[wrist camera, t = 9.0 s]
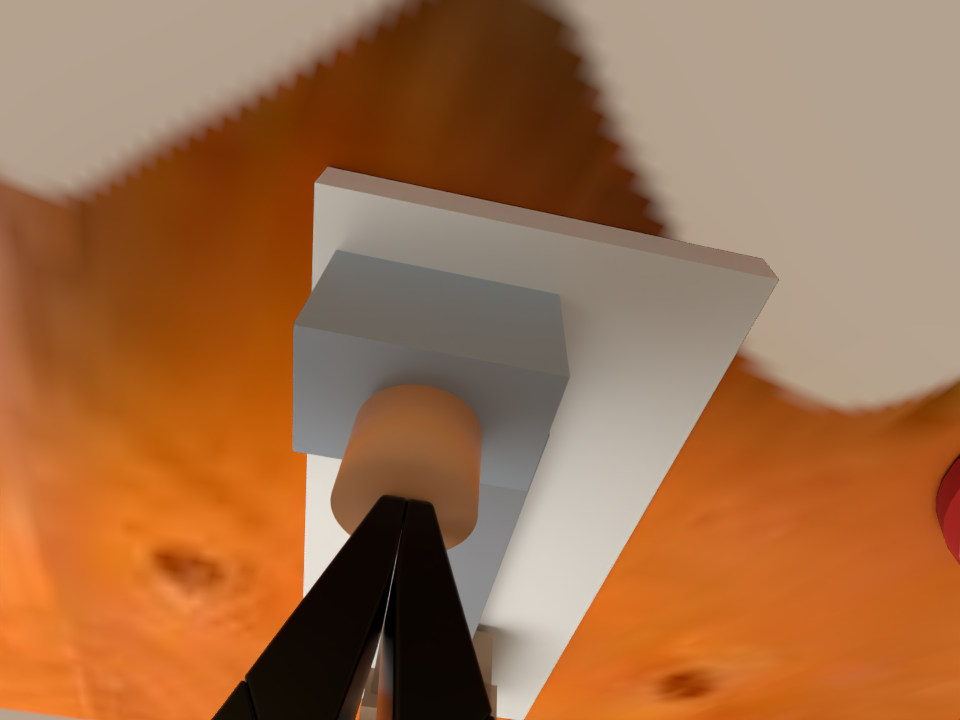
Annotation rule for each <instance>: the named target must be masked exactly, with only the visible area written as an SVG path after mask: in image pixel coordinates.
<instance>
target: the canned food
mask: <svg viewBox="0 0 960 720" xmlns="http://www.w3.org/2000/svg"><path fill="white" fill-rule="evenodd" d="M936 513H937V516H938V519H939V522H940V526H941V529H942V532H943V535H944V538H945V541H946V544H947V547H948V549H949V550H950V552H951V553H952V555H953V556H954V557H955V559H956V560H957V562H958V563H959V564H960V458H959V459H958V460H957V461H956V462H955V463H954V464H953V466H952V467H951V469H950V470H949V472H948V473H947V475H946V476H945V478H944V479H943V481H942V483H941V486H940V489H939V491H938V494H937V499H936Z"/></svg>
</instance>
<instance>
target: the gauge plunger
mask: <svg viewBox="0 0 960 720" xmlns="http://www.w3.org/2000/svg"><path fill="white" fill-rule="evenodd" d="M482 438H483V433H482V427H481V424H480V422H479V420H478V418H477V416H476V414H475V413H474V412H473V410H472V409H471V408H470V407H469V406H468V405H467V404H466V403H465V402H463V401H462V400H461V399H460V398H458V397H456V396H455V395H453V394H451V393H449V392H447V391H444V390H441V389H439V388H435V387H431V386H426V385H416V384H408V385H398V386H393V387H390V388H387V389H384V390H382V391H379V392H377V393H376V394H374V395H373V396H371V397H370V398H369V399H368V400H366V401H365V403H364V404H363V405H362V406H361V408H360V409H359V411H358V414H357V416H356V419H355V422H354V425H353V428H352V431H351V435H350V438H349V441H348V444H347V447H346V450H345V453H344V456H343V459H342V462H341V465H340V468H339V471H338V474H337V477H336V480H335V483H334V486H333V490H332V493H331V498H330V503H331V509H332V513H333V515H334V517H335V519H336V521H337V522H338V524H339V525H340V526H341V527H342V528H343V530H345V531H346V532H347V533H348V534H349V535H350V536H351V535H352V533H353V532H354V531H355V529H356V528H357V527H358V525H359V524H360V523H361V521H362V520H363V519H364V517H365V516H366V515H367V513H368V512H369V511H370V509H371V508H372V507H373V506H374V504H375V503H376V502H377V500H378V499H379V498H380V497H381V496H382V495H392V496H398V497H403V498H405V499H406V501H408V500H410V499H416V500H422V501H428V502H431V503H432V504H433V506H434V508H435V512H436V515H437V519H438V522H439V526H440V529H441V533H442V536H443V540H444V543H445V547H446V550H449V549H451V548H453V547H455V546H457V545H459V544H460V543H462V542H463V541H464V540H466V539H467V538H468V536H469V535H470V534H471V533H472V531H473V530H474V528H475V526H476V523H477V519H478V505H479V489H480V472H481V456H482ZM406 505H407V503H406ZM405 510H406V508H405ZM404 515H405V514H404ZM403 521H404V519H403ZM402 526H403V524H402ZM401 531H402V530H401ZM400 536H401V535H400ZM399 542H400V540H399ZM398 547H399V546H398ZM397 552H398V551H397Z"/></svg>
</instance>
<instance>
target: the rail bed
mask: <svg viewBox="0 0 960 720" xmlns="http://www.w3.org/2000/svg"><path fill="white" fill-rule="evenodd" d="M778 281H779V279H778V278H777V276H776V275H775V274H774V272H773V271H772V270H771V269H770V267H769V266H768V265H767V264H766V262H765V261H764V260H763V259H761V258H756V257H752V256H747V255H742V254H738V253H733V252H728V251H724V250H719V249H714V248H709V247H704V246H700V245H695V244H690V243H686V242H681V241H676V240H672V239H667V238H662V237H657V236H653V235H648V234H643V233H639V232H634V231H629V230H624V229H620V228H615V227H610V226H605V225H601V224H596V223H591V222H587V221H582V220H577V219H572V218H568V217H563V216H558V215H554V214H549V213H544V212H539V211H535V210H530V209H525V208H520V207H516V206H511V205H506V204H502V203H497V202H492V201H487V200H483V199H478V198H473V197H469V196H464V195H459V194H454V193H450V192H445V191H440V190H435V189H431V188H426V187H421V186H417V185H412V184H407V183H402V182H398V181H393V180H388V179H383V178H379V177H374V176H369V175H365V174H360V173H355V172H350V171H346V170H341V169H336V168H332V167H327V168H326V169H325V170H324V172H323V173H322V174H321V175H320V177H319V178H318V179H317V180H316V181H315V187H314V224H313V261H312V293H311V295H310V296H309V298H308V300H307V302H306V304H305V305H304V307H303V309H302V311H301V312H300V314H299V316H298V318H297V319H296V321H295V323H294V325H293V451H295V452H300V453H306V454H307V482H306V519H305V556H304V593H303V598H304V597H305V596H306V594H307V593H308V592H309V590H310V589H311V588H312V586H313V585H314V584H315V582H316V581H317V580H318V578H319V577H320V576H321V574H322V573H323V572H324V570H325V569H326V568H327V567H328V565H329V564H330V563H331V561H332V560H333V559H334V557H335V556H336V555H337V553H338V552H339V551H340V549H341V548H342V547H343V545H344V544H345V543H346V541H347V540H348V539H349V537H350V535H349V534H348V533H347V532H346V531H345V530H343V528H342V527H341V526H340V525H339V524H338V522H337V521H336V519H335V517H334V515H333V513H332V509H331V503H330V498H331V493H332V490H333V486H334V483H335V480H336V477H337V474H338V471H339V468H340V465H341V462H342V459H343V456H344V453H345V450H346V447H347V444H348V441H349V438H350V435H351V431H352V428H353V425H354V422H355V419H356V416H357V414H358V411H359V409H360V408H361V406H362V405H363V404H364V403H365V401H366V400H368V399H369V398H370V397H371V396H373V395H374V394H376V393H377V392H379V391H382V390H384V389H387V388H390V387H393V386H398V385H408V384H416V385H426V386H431V387H435V388H439V389H441V390H444V391H447V392H449V393H451V394H453V395H455V396H456V397H458V398H460V399H461V400H462V401H463V402H465V403H466V404H467V405H468V406H469V407H470V408H471V409H472V410H473V412H474V413H475V414H476V416H477V418H478V420H479V422H480V424H481V427H482V433H483V438H482V456H481V472H480V489H479V505H478V519H477V523H476V526H475V528H474V530H473V531H472V533H471V534H470V535H469V536H468V538H467V539H466V540H464V541H463V542H462V543H460V544H459V545H457V546H455V547H453V548H451V549H449V550H447V554H448V557H449V561H450V564H451V568H452V571H453V575H454V578H455V582H456V585H457V589H458V592H459V596H460V599H461V603H462V606H463V610H464V613H465V617H466V620H467V623H468V627H469V630H470V634H471V637H472V639H473V637H474V634H475V631H481V632H488V633H493V649H492V684H491V685H496V686H497V717H500V718H508V719H515V720H524V718H525V716H526V715H527V713H528V711H529V709H530V708H531V706H532V704H533V703H534V701H535V699H536V697H537V696H538V694H539V692H540V691H541V689H542V687H543V685H544V684H545V682H546V680H547V679H548V677H549V675H550V673H551V672H552V670H553V668H554V666H555V665H556V663H557V661H558V660H559V658H560V656H561V654H562V653H563V651H564V649H565V648H566V646H567V644H568V642H569V641H570V639H571V637H572V635H573V634H574V632H575V630H576V629H577V627H578V625H579V623H580V622H581V620H582V618H583V617H584V615H585V613H586V611H587V610H588V608H589V606H590V604H591V603H592V601H593V599H594V598H595V596H596V594H597V592H598V591H599V589H600V587H601V586H602V584H603V582H604V580H605V579H606V577H607V575H608V573H609V572H610V570H611V568H612V567H613V565H614V563H615V561H616V560H617V558H618V556H619V555H620V553H621V551H622V549H623V548H624V546H625V544H626V542H627V541H628V539H629V537H630V536H631V534H632V532H633V530H634V529H635V527H636V525H637V524H638V522H639V520H640V518H641V517H642V515H643V513H644V511H645V510H646V508H647V506H648V505H649V503H650V501H651V499H652V498H653V496H654V494H655V493H656V491H657V489H658V487H659V486H660V484H661V482H662V481H663V479H664V477H665V475H666V474H667V472H668V470H669V468H670V467H671V465H672V463H673V462H674V460H675V458H676V456H677V455H678V453H679V451H680V450H681V448H682V446H683V444H684V443H685V441H686V439H687V437H688V436H689V434H690V432H691V431H692V429H693V427H694V425H695V424H696V422H697V420H698V419H699V417H700V415H701V413H702V412H703V410H704V408H705V406H706V405H707V403H708V401H709V400H710V398H711V396H712V394H713V393H714V391H715V389H716V388H717V386H718V384H719V382H720V381H721V379H722V377H723V375H724V374H725V372H726V370H727V369H728V367H729V365H730V363H731V362H732V360H733V358H734V357H735V355H736V353H737V351H738V350H739V348H740V346H741V344H742V343H743V341H744V339H745V338H746V336H747V334H748V332H749V331H750V329H751V327H752V326H753V324H754V322H755V320H756V319H757V317H758V315H759V313H760V312H761V310H762V308H763V307H764V305H765V303H766V301H767V300H768V298H769V296H770V295H771V293H772V291H773V289H774V288H775V286H776V284H777V283H778ZM396 557H397V556H396ZM395 563H396V561H395ZM394 568H395V567H394ZM393 573H394V572H393ZM392 579H393V577H392ZM391 584H392V582H391ZM390 589H391V588H390ZM389 595H390V593H389ZM388 600H389V598H388ZM387 605H388V603H387ZM386 610H387V609H386ZM385 616H386V614H385ZM380 638H381V636H380ZM379 643H380V640H379ZM379 643H378V647H377V650H376V654H375V657H374V660H373V663H372V666H371V668H375V665H376V659H377V654H378V649H379ZM364 690H365V689H364ZM363 695H364V692H363ZM363 695H362V698H363Z"/></svg>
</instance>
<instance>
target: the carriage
mask: <svg viewBox="0 0 960 720" xmlns="http://www.w3.org/2000/svg"><path fill="white" fill-rule="evenodd" d="M384 622H385V619H384ZM383 628H384V624H383ZM383 628H382V633H381V638H380V643H379V649H378V654H377V659H376V665H375V668H371V670H370V673H369V676H368V679H367V682H366V686H365V690H364V695H363V700H362V705H361V710H360V716H359V720H376V714H377V700H378V686H379V671H380V657H381V645H382V635H383ZM472 641H473V644H474V648H475V651H476V655H477V658H478V662H479V665H480V669H481V672H482V676H483V679H484V683H485V686H486V690H487V693H488V697H489V700H490V704H491V707H492V713H491V715H493V716H494V717H495V720H496V719H497V686H496V685H491V684H492V649H493V633H488V632H481V631H475V634H474V637H473V639H472Z"/></svg>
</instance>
